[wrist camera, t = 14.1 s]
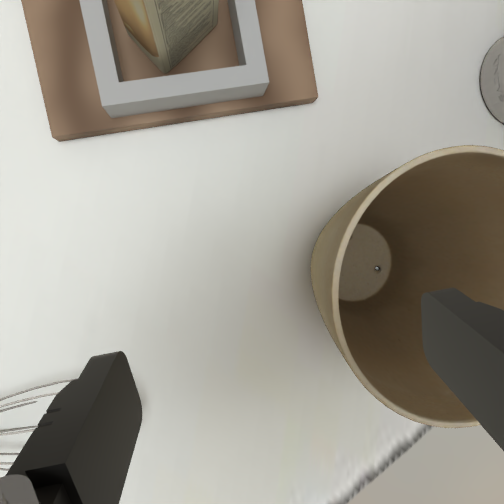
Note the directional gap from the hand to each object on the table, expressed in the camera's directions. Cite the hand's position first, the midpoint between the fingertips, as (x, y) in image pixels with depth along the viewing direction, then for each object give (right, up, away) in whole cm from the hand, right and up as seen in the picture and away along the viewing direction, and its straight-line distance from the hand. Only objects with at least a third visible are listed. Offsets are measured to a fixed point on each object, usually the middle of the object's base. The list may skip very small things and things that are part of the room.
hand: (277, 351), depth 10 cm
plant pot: (+9, +2, +26) cm, 27 cm away
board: (-7, +21, +22) cm, 31 cm away
